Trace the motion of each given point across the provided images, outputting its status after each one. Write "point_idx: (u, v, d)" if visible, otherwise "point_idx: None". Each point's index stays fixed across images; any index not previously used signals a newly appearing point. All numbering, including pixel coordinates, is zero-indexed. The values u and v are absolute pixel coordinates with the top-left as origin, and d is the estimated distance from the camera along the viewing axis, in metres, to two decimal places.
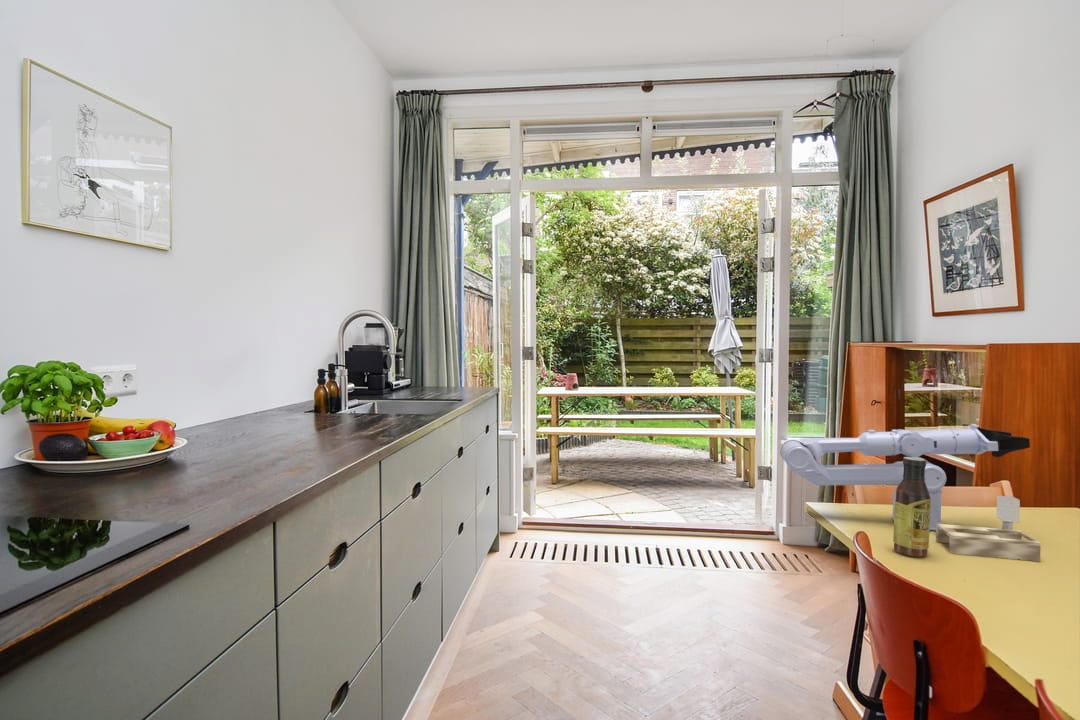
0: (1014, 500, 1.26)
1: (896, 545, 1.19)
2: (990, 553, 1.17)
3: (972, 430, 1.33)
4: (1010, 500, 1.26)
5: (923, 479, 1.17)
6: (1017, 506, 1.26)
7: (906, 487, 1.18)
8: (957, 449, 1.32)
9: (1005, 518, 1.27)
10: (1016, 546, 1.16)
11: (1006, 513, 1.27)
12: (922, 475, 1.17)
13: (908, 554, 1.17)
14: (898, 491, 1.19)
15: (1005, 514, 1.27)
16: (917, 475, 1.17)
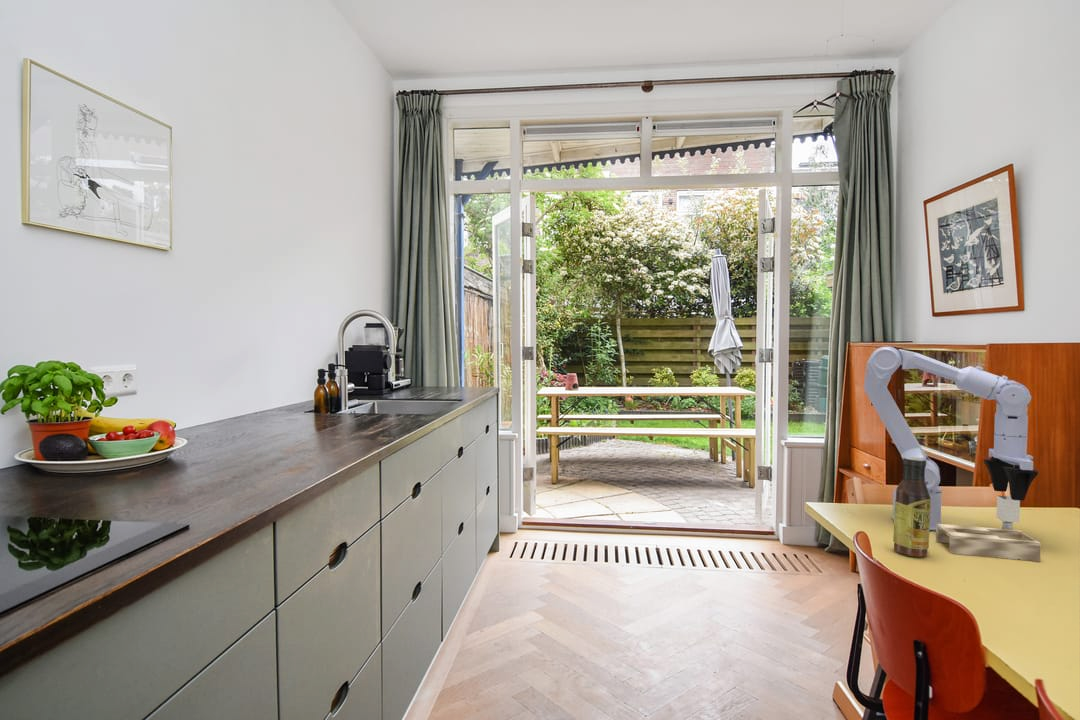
0: (1014, 500, 1.26)
1: (896, 545, 1.19)
2: (990, 553, 1.17)
3: None
4: (1010, 500, 1.26)
5: (923, 479, 1.17)
6: (1017, 506, 1.26)
7: (906, 487, 1.18)
8: (1008, 437, 1.25)
9: (1005, 518, 1.27)
10: (1016, 546, 1.16)
11: (1006, 513, 1.27)
12: (922, 475, 1.17)
13: (908, 554, 1.17)
14: (898, 491, 1.19)
15: (1005, 514, 1.27)
16: (917, 475, 1.17)
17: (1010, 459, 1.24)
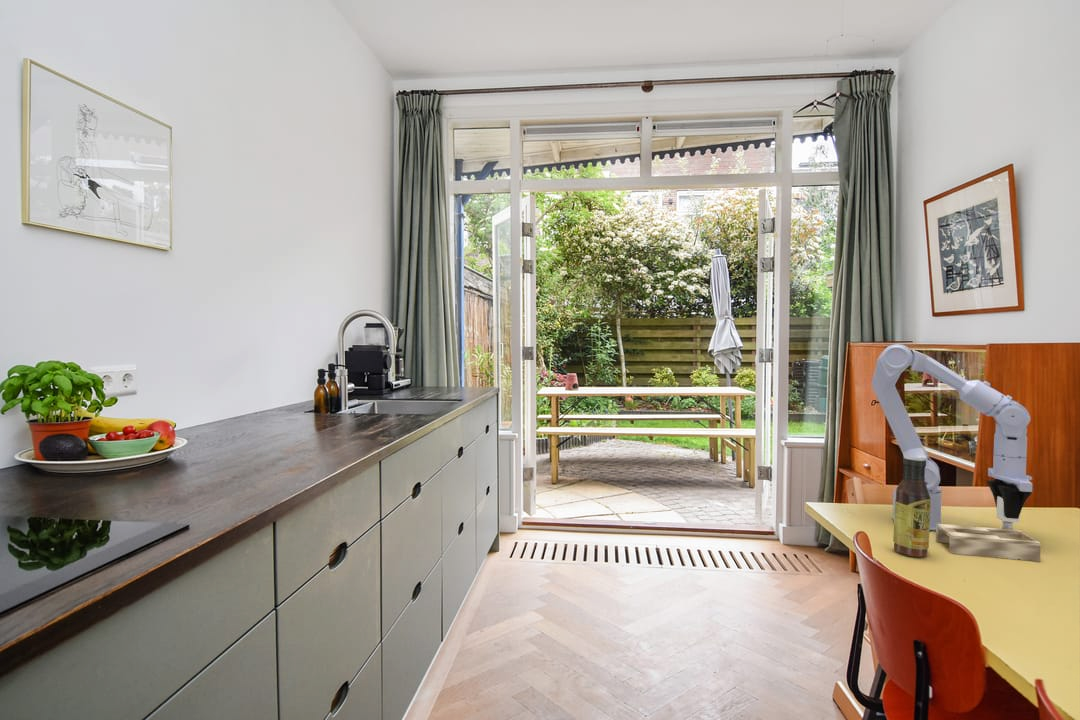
0: None
1: (896, 545, 1.19)
2: (990, 553, 1.17)
3: (1025, 475, 1.26)
4: None
5: (923, 479, 1.17)
6: None
7: (906, 487, 1.18)
8: (1008, 458, 1.25)
9: (1005, 518, 1.27)
10: (1016, 546, 1.16)
11: None
12: (922, 475, 1.17)
13: (908, 554, 1.17)
14: (898, 491, 1.19)
15: None
16: (917, 475, 1.17)
17: (1009, 480, 1.24)
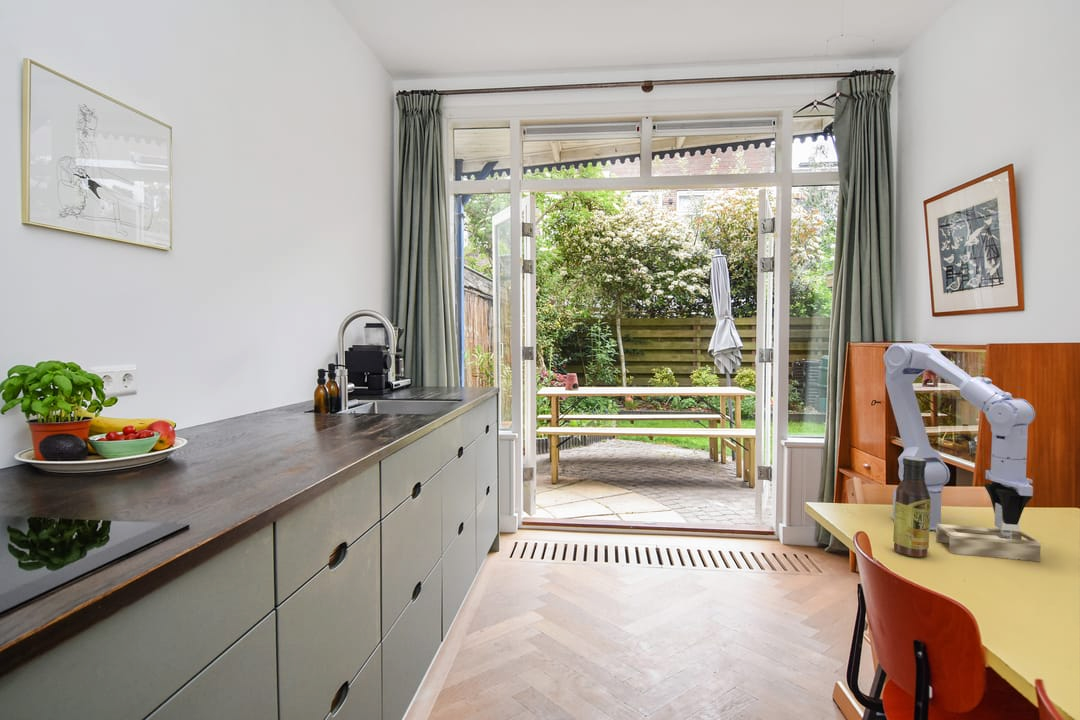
0: None
1: (896, 545, 1.19)
2: (990, 553, 1.17)
3: (1025, 478, 1.18)
4: None
5: (923, 479, 1.17)
6: None
7: (906, 487, 1.18)
8: (1007, 460, 1.17)
9: (1004, 526, 1.18)
10: (1016, 546, 1.16)
11: None
12: (922, 475, 1.17)
13: (908, 554, 1.17)
14: (898, 491, 1.19)
15: None
16: (917, 475, 1.17)
17: (1008, 483, 1.16)
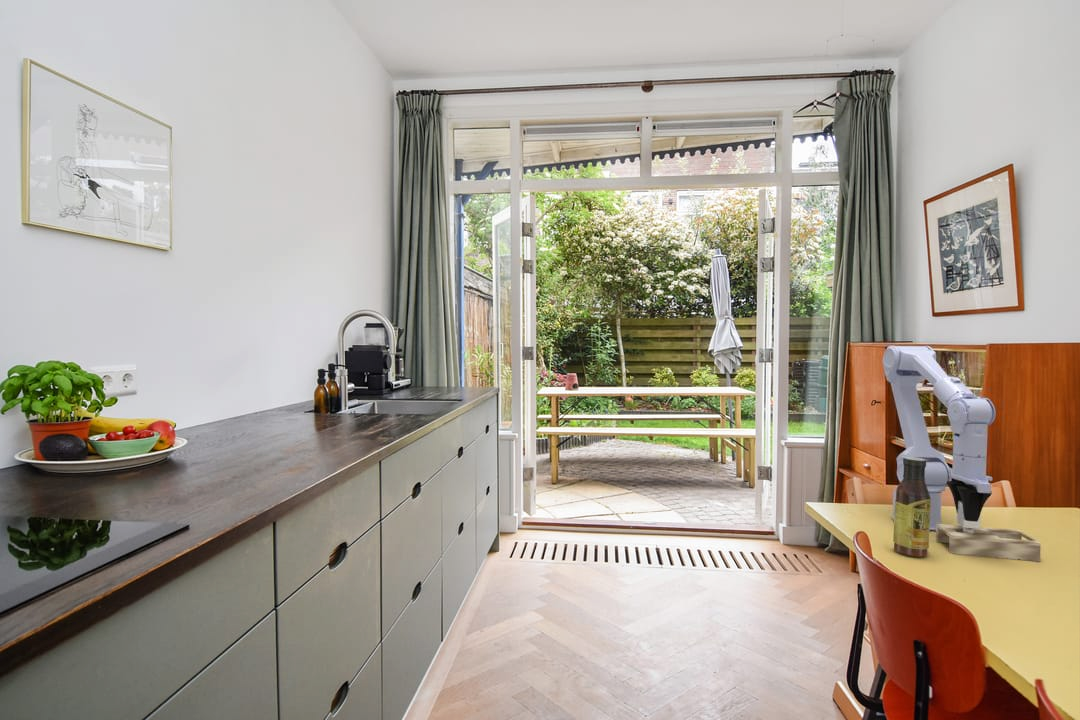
0: None
1: (896, 545, 1.19)
2: (990, 553, 1.17)
3: (985, 475, 1.20)
4: None
5: (923, 479, 1.17)
6: None
7: (906, 487, 1.18)
8: (967, 457, 1.19)
9: (965, 524, 1.20)
10: (1016, 546, 1.16)
11: None
12: (922, 475, 1.17)
13: (908, 554, 1.17)
14: (898, 491, 1.19)
15: None
16: (917, 475, 1.17)
17: (968, 481, 1.18)
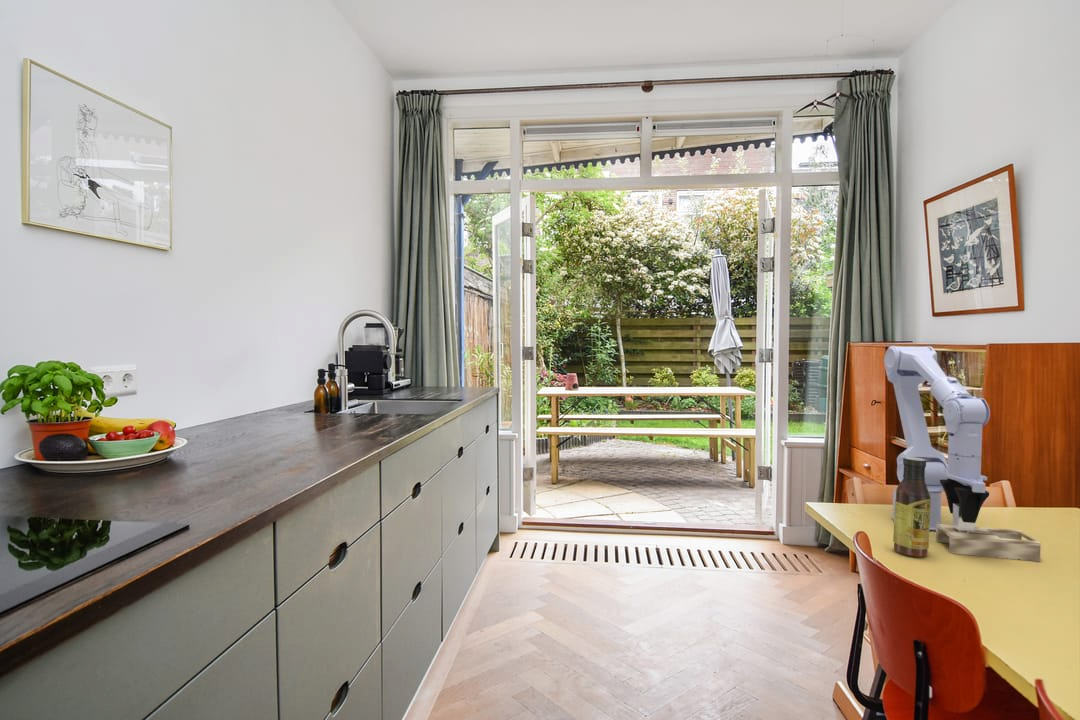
0: None
1: (896, 545, 1.19)
2: (990, 553, 1.17)
3: (980, 475, 1.20)
4: None
5: (923, 479, 1.17)
6: None
7: (906, 487, 1.18)
8: (962, 457, 1.19)
9: (960, 527, 1.21)
10: (1016, 546, 1.16)
11: (962, 522, 1.20)
12: (922, 475, 1.17)
13: (908, 554, 1.17)
14: (898, 491, 1.19)
15: (961, 523, 1.21)
16: (917, 475, 1.17)
17: (963, 480, 1.18)
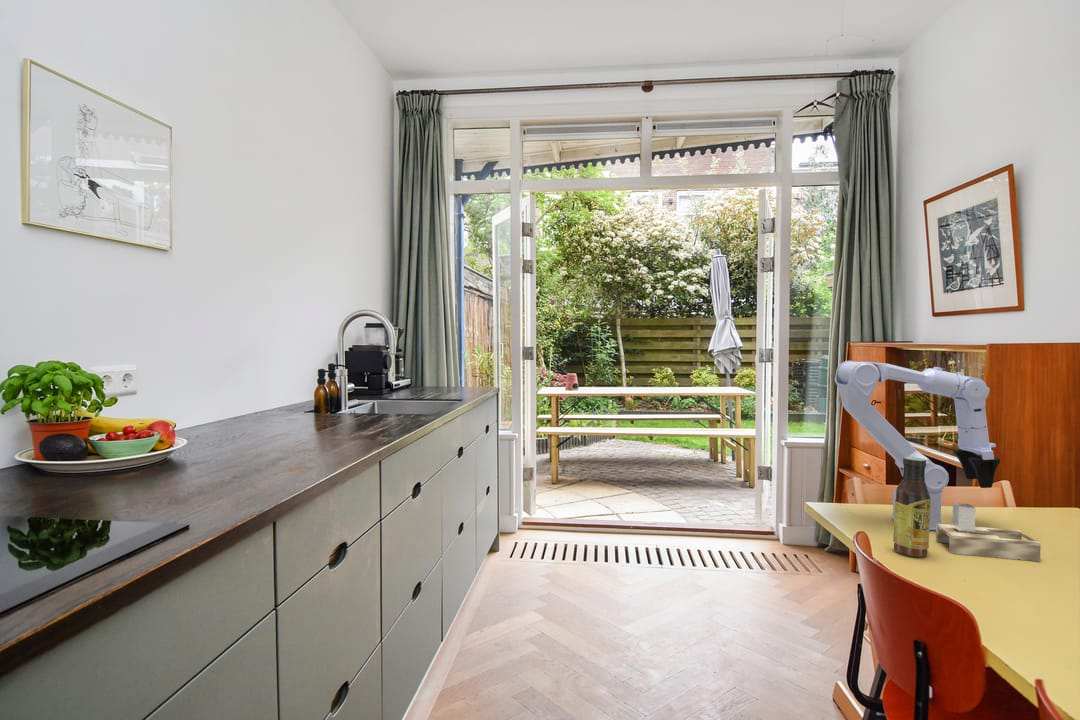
0: (970, 508, 1.20)
1: (896, 545, 1.19)
2: (990, 553, 1.17)
3: (989, 443, 1.34)
4: (965, 508, 1.20)
5: (923, 479, 1.17)
6: (972, 515, 1.20)
7: (906, 487, 1.18)
8: (969, 429, 1.33)
9: (960, 527, 1.21)
10: (1016, 546, 1.16)
11: (962, 522, 1.20)
12: (922, 475, 1.17)
13: (908, 554, 1.17)
14: (898, 491, 1.19)
15: (961, 523, 1.20)
16: (917, 475, 1.17)
17: (973, 450, 1.32)
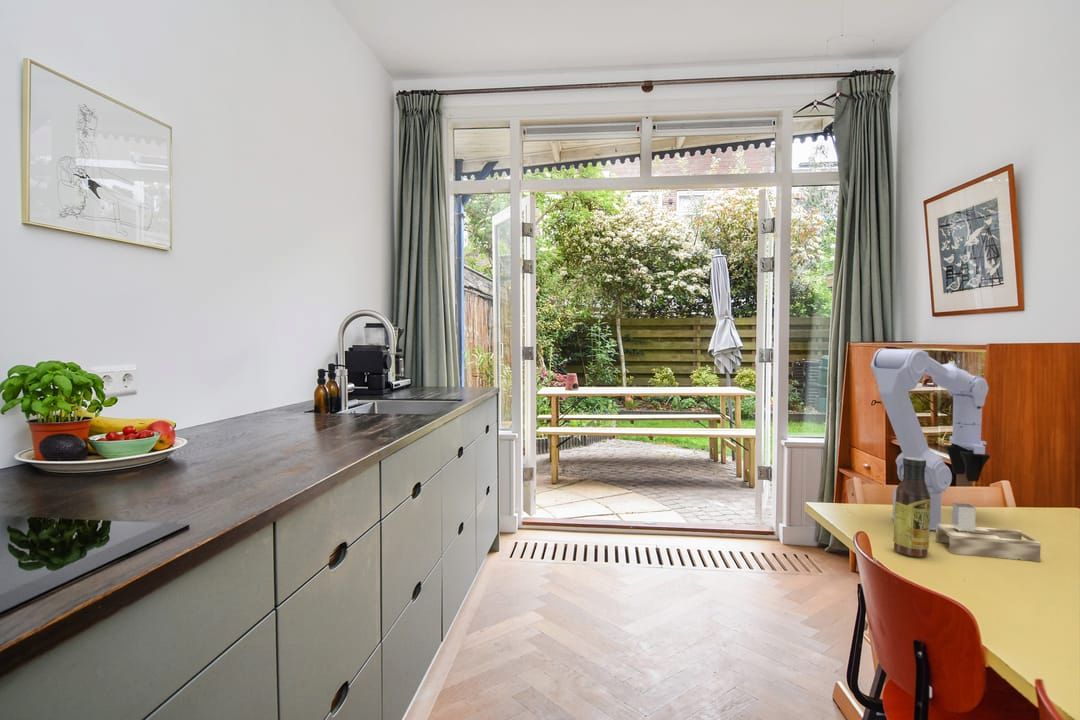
0: (970, 508, 1.20)
1: (896, 545, 1.19)
2: (990, 553, 1.17)
3: (980, 440, 1.40)
4: (965, 508, 1.20)
5: (923, 479, 1.17)
6: (972, 515, 1.20)
7: (906, 487, 1.18)
8: (964, 425, 1.40)
9: (960, 527, 1.21)
10: (1016, 546, 1.16)
11: (962, 522, 1.20)
12: (922, 475, 1.17)
13: (908, 554, 1.17)
14: (898, 491, 1.19)
15: (961, 523, 1.21)
16: (917, 475, 1.17)
17: (965, 444, 1.38)
